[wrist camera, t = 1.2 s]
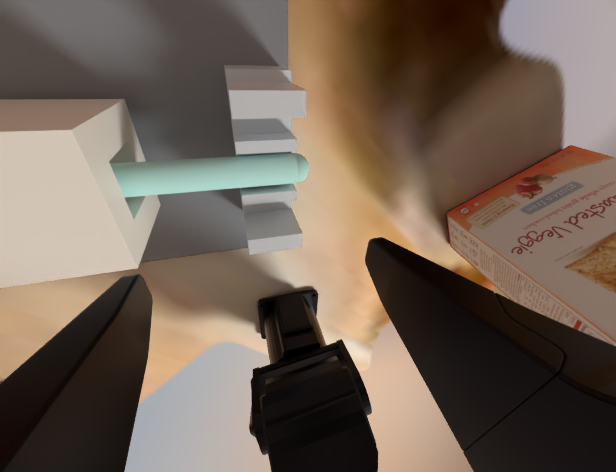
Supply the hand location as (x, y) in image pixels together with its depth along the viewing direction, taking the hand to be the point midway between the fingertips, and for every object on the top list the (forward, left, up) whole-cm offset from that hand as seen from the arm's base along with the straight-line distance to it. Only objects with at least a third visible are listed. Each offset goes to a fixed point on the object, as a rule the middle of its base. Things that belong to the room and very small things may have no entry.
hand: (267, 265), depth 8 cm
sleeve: (0, +8, -11) cm, 13 cm away
